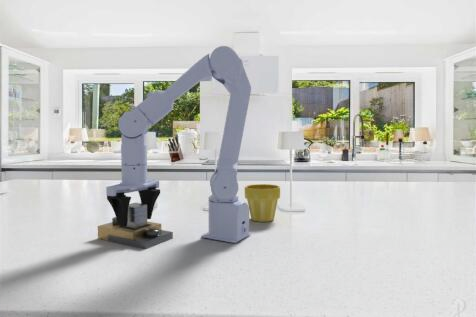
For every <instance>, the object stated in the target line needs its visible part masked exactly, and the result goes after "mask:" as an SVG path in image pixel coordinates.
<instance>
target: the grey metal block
mask: <svg viewBox="0 0 476 317" xmlns="http://www.w3.org/2000/svg"><path fill="white" fill-rule="evenodd" d="M147 222H148V219H147V204H141V202H140V203H138V202H133V203H129V208H128V222H127V226H125V227H124V226H122V228H126V229H131V230H137V229H141V228H144V227H147Z"/></svg>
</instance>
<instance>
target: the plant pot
mask: <svg viewBox="0 0 476 317" xmlns="http://www.w3.org/2000/svg"><path fill="white" fill-rule="evenodd" d="M244 199H246V200H247V204H248V207H249V216H250V219H251V220H252V221H254V222H257V223H258V222H259V223H264V222H265V223H266V222H267V223H269V222H272V221H274V220H275V216H276V210H277V205H278V200H279V199H281V186H279V185H277V184H268V183H267V184H266V183H262V184H261V183H260V184H259V183H258V184H257V183H256V184H248V185H245V186H244Z"/></svg>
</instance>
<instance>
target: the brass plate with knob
mask: <svg viewBox="0 0 476 317" xmlns="http://www.w3.org/2000/svg"><path fill="white" fill-rule="evenodd" d="M111 221H112V222H111ZM111 221H110V222H108V223H104V224H101V225H98V226H97V239H98V240H102V239H103V241H108V242H111V241H112V243H116V242H117V244H121V245H125V246H130V247H135V248H138V249H142V250H145V249H149V248H151V247H153V246H156V245H159V244H162V243H165V242H167V241H169V240H171V239H173V238H174V237H173V236H174V235H173V234H174V232H173V231H170V230H163V229H162V223H159V222H153V221H147V227H144V228H141V229H137V230H131V229H126V228H122V226H118V222H117V218H116V216H115V217H112V220H111Z"/></svg>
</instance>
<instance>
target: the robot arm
mask: <svg viewBox="0 0 476 317" xmlns="http://www.w3.org/2000/svg"><path fill="white" fill-rule="evenodd" d="M212 78H213V79H215V81H217V82H218V83H220V84H222V85H223V87H224V88H225V90H227V92H228V93H229V102H228V106H227V112H226V116H225V117H226V118H225V123H224V128H223V132H222V133H223V134H222V138H221V139H222V140H221V145H220V150H219V154H218V155H219V156H218V160H217V163H216V167H215V171H214V173H213V174H212V175H211V176H210V179H209V184H210V185H209V186H210V190H211V195H210V196H209V197H208V231H207V232H205V233H203V234H201V235H200V236H201V238H206V239H211V240H216V241H221V242H228V243H232V244H236V243H238V242H240V241H241V240H243V239H245V238H247V237H249V236H250V235H251V232H250V210H249V205H248V202H245V201H241V200H239V196H238V195H237V194H238V192H239V182H238V180H237V179H238V178H237V175H238V163H239V162H238V161H239V156H240V151H241V145H242V140H243V136H244V129H245V125H246V119H247V115H248V109H249V103H250V97H251V92H252V86H251V83H250V80H249V78H248V74H247V72H246V70H245V68H244V63H243V59H242V58H241V57H240V56H239V54H237V52H236V51H235V50H234V49H233V48H231V47H230V46H227V45H221V46H218V47H216V48H214V49H213V51H211V53H208V54H206V55H204V56H203V57H202V58H201V59H199V60H198V61H197V62H196V63H194V64H193V65H192V66H191V67H190V68H189V69H188V70H187V71H185V72H184V73H183V74H182V75H181V76H179V77H178V78H177V79H176V80H175V81H173V83H172V84H170V85H169V86H168V87H167V88H166V89H165V90H159V89H156V90H155V91H152V90H150V91H149V92H148V93H147V94H146V95H147V97H146V98H145V99H144V100H143V101H142V102H140V103H138V104H137V105H133V106H132V107H131V110H128V111H125V112H123V113H122V115H121V116H120V117H119V119H118V123H117V126H118V129H119V132H120V133H121V135H120V136H121V137H120V138H121V144H120V150H121V152H120V153H121V154H120V155H121V156H120V157H121V158H120V160H121V162H120V163H121V182H119V183H118V184H115V185H110V186H106V187H105V188H106V189H105V190H106V191H105V192H106V193H105V195H106V199H107V202H108V203H109V204H110V206H111V208H112V209H113V212H114V215H115V217H116V218H117V222H118V226H124V227H125V226H127V222H128V208H129V204H131V203H130V202H131V199H132V197H131V196H128V195H126V194H128V193H134V192H135V193H136V192H137V193H138V195H139V198H140V204H147V220H151V219H152V215H153V212H154V208H155V205H156V202H157V199H158V198H159V197H160V195H161V189H159V188H160V180H159V179H149V180H148V146H147V133H148V132H149V128H150V127H153V126H155V125H156V124H157V123H158V122H159V121H161V120H162V119H164V117H166V116H167V115H168V114H169V113H171V112H173V110H174V103H175V101H176V100H179V99H178V98H181V97H182V96H183V95H184V94H186V93H187V92H189V90H191V89H192V88H193V87H195V86H196V85H198V84H199V83H200V82H211V81H212Z"/></svg>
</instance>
